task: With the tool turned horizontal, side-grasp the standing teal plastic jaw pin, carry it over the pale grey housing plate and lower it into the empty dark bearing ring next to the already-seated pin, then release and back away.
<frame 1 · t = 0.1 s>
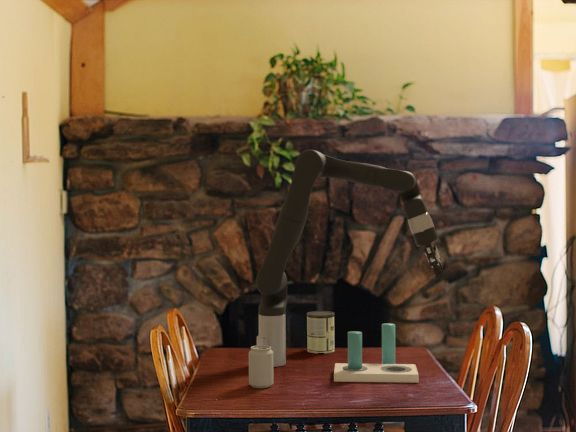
hand: (440, 276, 248), 31 cm above the table, tool tilted 20°, fingers open, 8 cm apart
housing: (375, 376, 245), on the table
can: (261, 386, 234), on the table
coffee can: (320, 351, 285), on the table
jaw pin: (388, 365, 260), on the table
seated pin: (355, 376, 245), resting on housing
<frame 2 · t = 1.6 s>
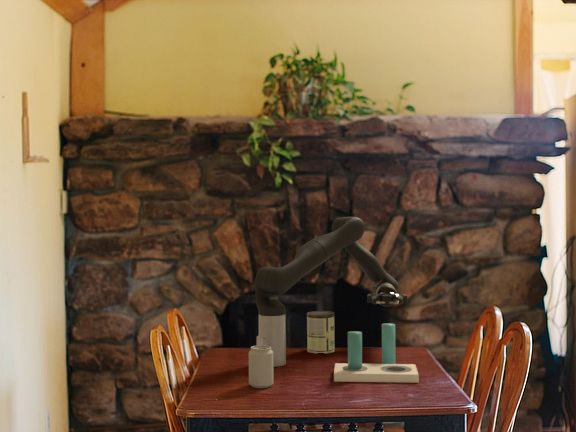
hand: (387, 301, 270), 20 cm above the table, tool horizontal, fingers open, 8 cm apart
nothing on the table moved.
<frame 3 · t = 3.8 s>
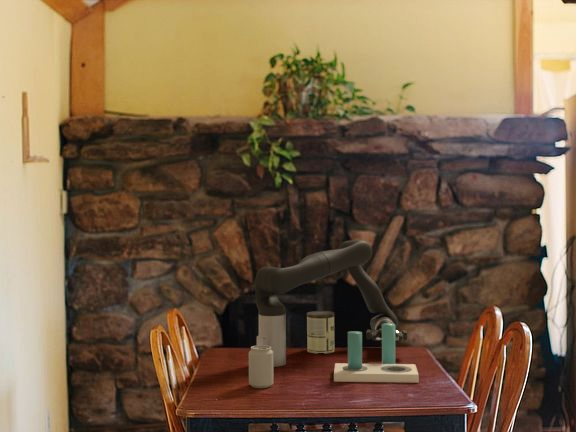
hand: (387, 338, 266), 8 cm above the table, tool horizontal, fingers open, 8 cm apart
nothing on the table moved.
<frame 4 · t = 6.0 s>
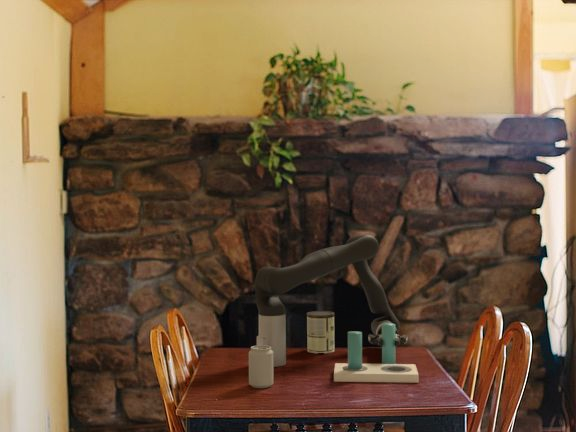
hand: (389, 343, 257), 8 cm above the table, tool horizontal, fingers closed on jaw pin, 4 cm apart
jaw pin: (388, 365, 260), on the table, touching gripper
everything else where it was.
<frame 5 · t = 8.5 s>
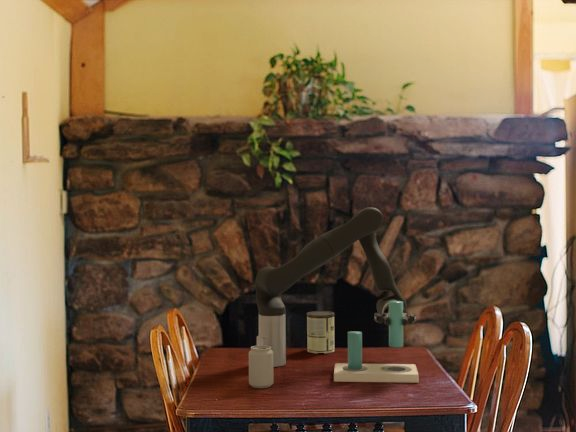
hand: (396, 322, 241), 18 cm above the table, tool horizontal, fingers closed on jaw pin, 4 cm apart
jaw pin: (396, 345, 244), point 10 cm above the table, touching gripper
everything else where it was.
when the fingers open (9 cm above the table, at t = 11.0 s): jaw pin stays where it is, resting in housing.
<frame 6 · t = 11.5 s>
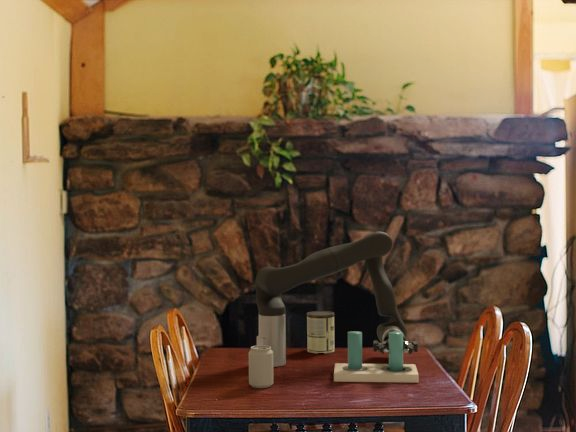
hand: (396, 350, 242), 9 cm above the table, tool horizontal, fingers open, 8 cm apart
jaw pin: (396, 376, 244), resting in housing
everything else where it was.
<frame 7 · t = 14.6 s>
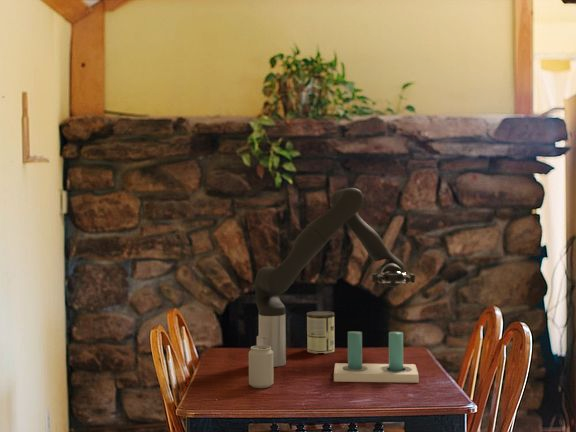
hand: (394, 279, 254), 30 cm above the table, tool horizontal, fingers open, 8 cm apart
nothing on the table moved.
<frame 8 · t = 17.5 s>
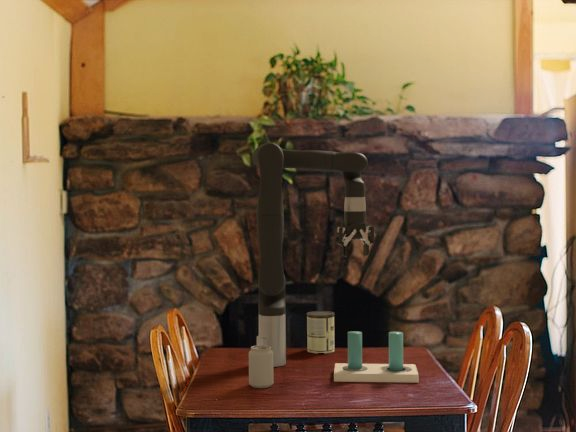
hand: (355, 256, 271), 36 cm above the table, tool pointing down, fingers open, 8 cm apart
nothing on the table moved.
at the end: jaw pin 0.1 cm from the target spot on the housing, point 0.0 cm above the housing's base; jaw pin tilted 0°; the gripper is holding nothing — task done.
